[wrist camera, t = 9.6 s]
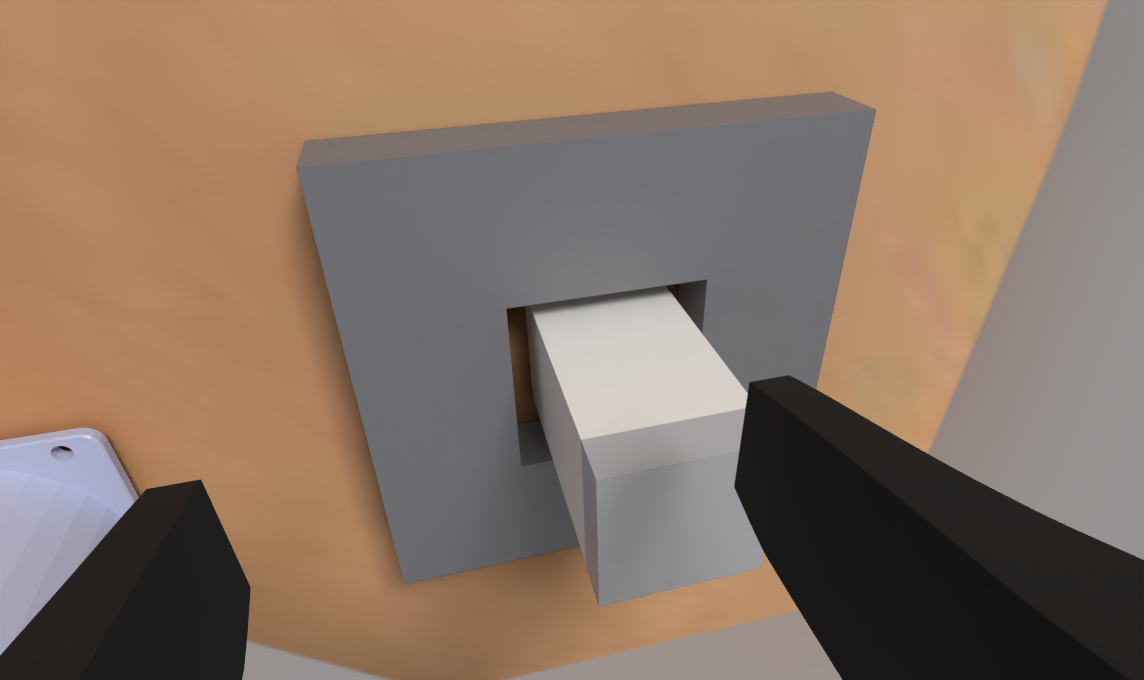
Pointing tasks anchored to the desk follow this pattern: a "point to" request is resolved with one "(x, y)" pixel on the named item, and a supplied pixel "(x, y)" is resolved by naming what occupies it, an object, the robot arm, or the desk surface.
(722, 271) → the socket plate
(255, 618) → the desk surface
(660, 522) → the plug
